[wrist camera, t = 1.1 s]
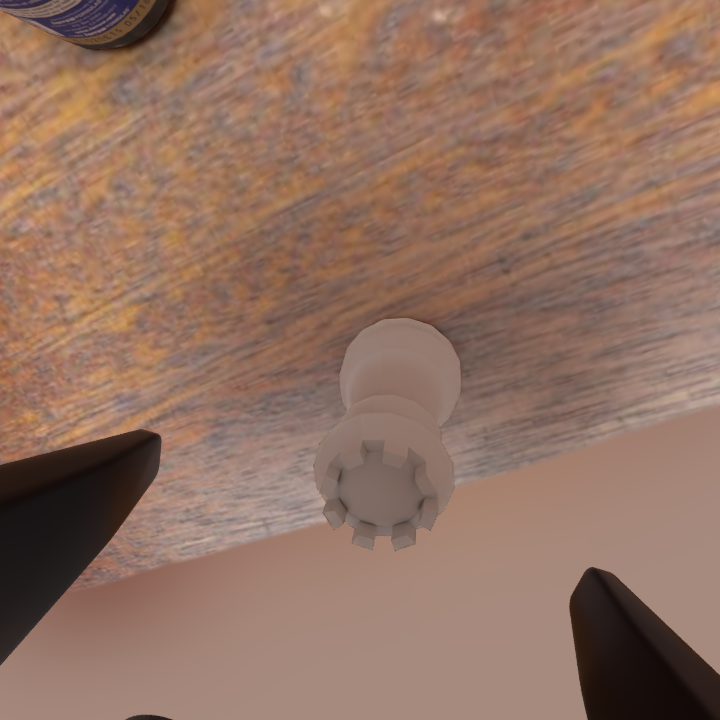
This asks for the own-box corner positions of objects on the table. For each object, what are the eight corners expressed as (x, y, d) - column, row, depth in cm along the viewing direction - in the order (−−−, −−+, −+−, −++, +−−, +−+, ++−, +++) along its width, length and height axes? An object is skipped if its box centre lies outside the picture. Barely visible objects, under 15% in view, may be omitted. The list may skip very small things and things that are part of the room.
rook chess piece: (328, 332, 16) (244, 432, 9) (443, 299, 15) (457, 382, 8) (363, 434, 18) (315, 597, 10) (473, 410, 17) (509, 572, 9)
